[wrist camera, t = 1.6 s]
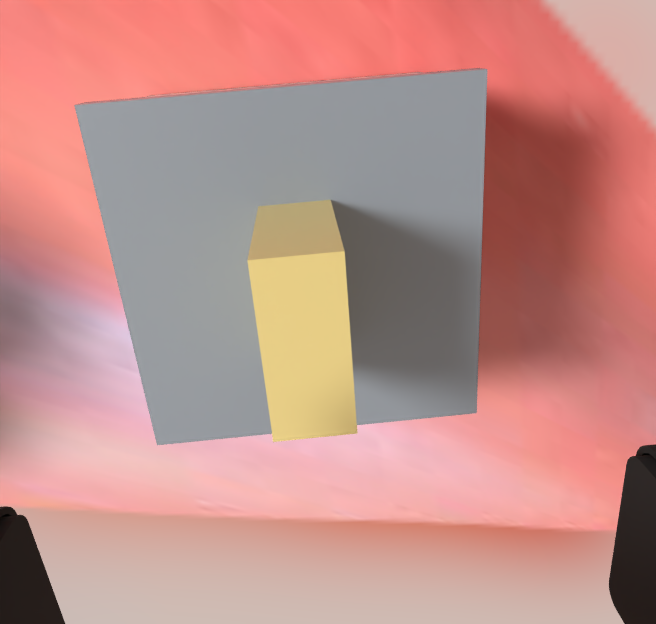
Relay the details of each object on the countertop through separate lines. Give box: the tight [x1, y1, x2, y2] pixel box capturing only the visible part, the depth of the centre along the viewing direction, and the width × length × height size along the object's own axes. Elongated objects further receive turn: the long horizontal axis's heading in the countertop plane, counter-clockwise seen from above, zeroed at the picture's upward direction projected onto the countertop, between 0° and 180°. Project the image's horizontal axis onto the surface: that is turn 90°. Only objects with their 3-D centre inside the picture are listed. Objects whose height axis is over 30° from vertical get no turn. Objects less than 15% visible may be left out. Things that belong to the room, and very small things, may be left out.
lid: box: [75, 68, 487, 445], centre depth 17 cm, size 12×12×7 cm
